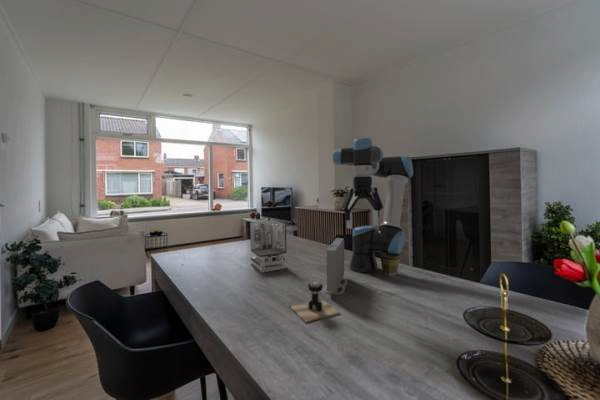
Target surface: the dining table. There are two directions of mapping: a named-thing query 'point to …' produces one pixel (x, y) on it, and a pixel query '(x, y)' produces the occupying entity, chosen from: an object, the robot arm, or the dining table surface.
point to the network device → (335, 267)
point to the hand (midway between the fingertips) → (362, 226)
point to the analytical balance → (268, 245)
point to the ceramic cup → (390, 263)
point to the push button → (315, 296)
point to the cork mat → (313, 311)
